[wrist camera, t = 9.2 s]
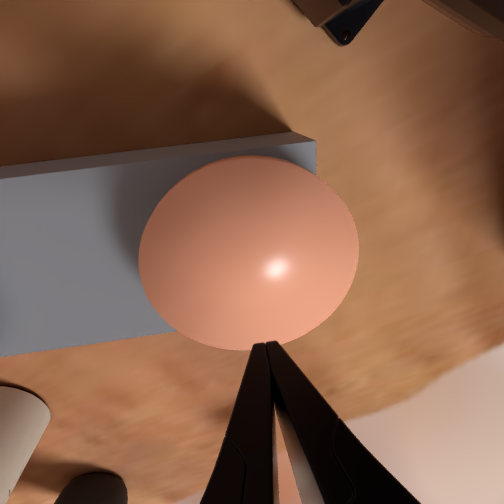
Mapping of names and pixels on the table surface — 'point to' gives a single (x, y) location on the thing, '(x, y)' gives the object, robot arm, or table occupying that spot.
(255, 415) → the robot arm
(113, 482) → the cola bottle
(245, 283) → the terracotta plug
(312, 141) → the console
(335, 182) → the table surface
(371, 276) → the table surface
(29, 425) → the travel mug
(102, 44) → the table surface
